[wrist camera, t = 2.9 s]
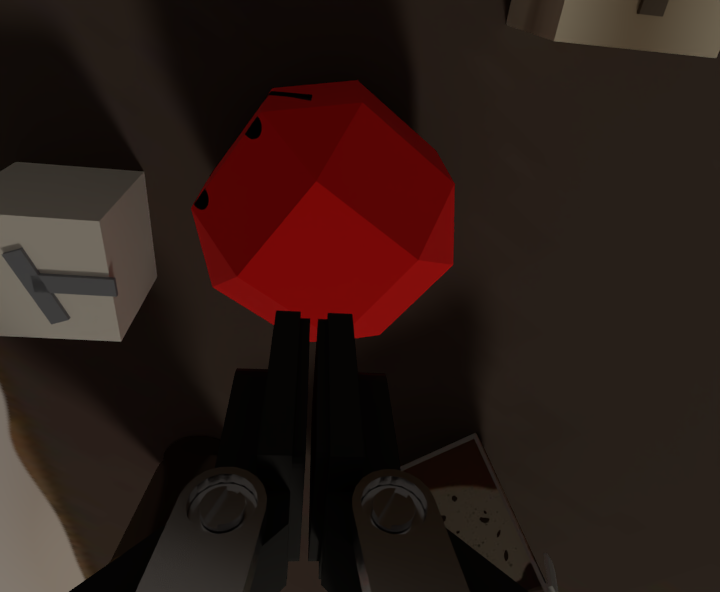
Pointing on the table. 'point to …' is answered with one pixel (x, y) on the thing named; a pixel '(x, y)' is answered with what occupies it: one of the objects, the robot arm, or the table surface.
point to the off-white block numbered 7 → (73, 251)
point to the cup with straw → (168, 487)
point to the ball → (327, 210)
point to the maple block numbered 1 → (624, 23)
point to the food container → (480, 510)
